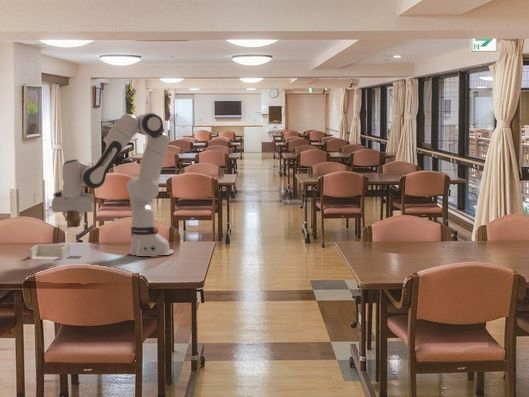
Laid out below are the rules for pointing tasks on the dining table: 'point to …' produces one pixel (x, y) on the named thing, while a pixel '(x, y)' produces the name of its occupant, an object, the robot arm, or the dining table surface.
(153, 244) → the robot arm
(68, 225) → the block
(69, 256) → the coaster
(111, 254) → the dining table surface
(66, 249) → the box
